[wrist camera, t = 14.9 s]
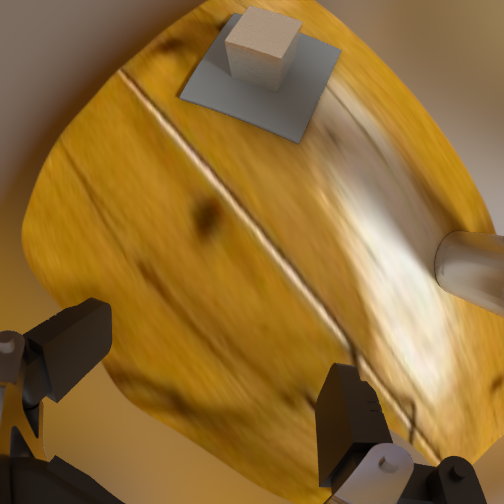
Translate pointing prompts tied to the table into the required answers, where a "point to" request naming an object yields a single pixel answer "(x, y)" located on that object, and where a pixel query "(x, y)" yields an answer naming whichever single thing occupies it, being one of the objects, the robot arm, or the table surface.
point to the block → (263, 47)
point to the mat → (259, 99)
